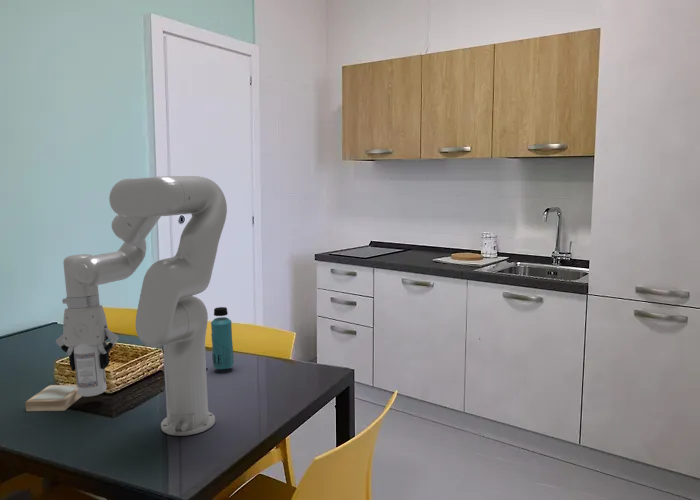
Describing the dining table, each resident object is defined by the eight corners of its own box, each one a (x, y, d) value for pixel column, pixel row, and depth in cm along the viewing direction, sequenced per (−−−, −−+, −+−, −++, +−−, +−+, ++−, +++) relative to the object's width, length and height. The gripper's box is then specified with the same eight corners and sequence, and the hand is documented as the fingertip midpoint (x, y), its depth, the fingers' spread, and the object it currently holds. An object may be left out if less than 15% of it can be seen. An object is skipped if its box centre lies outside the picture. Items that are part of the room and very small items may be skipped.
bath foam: (94, 386, 154) (86, 315, 152) (112, 389, 151) (105, 316, 149) (72, 395, 148) (64, 321, 145) (91, 398, 145) (83, 322, 143)
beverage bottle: (236, 367, 178) (234, 305, 176) (230, 374, 172) (227, 310, 169) (216, 366, 179) (214, 305, 176) (209, 374, 172) (206, 310, 170)
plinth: (64, 410, 146) (63, 400, 146) (26, 411, 146) (25, 401, 146) (85, 393, 158) (85, 384, 158) (50, 393, 158) (49, 384, 158)
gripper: (42, 306, 143) (49, 374, 145) (110, 303, 143) (117, 371, 145) (57, 300, 150) (64, 365, 152) (122, 297, 150) (128, 362, 152)
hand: (90, 367), depth 149 cm, fingers closed on bath foam, 7 cm apart
